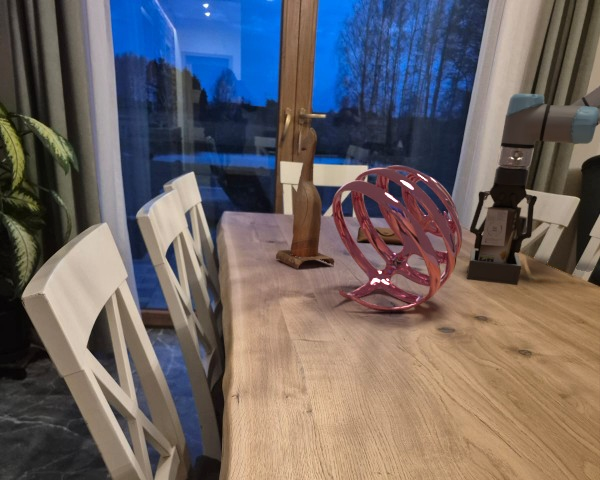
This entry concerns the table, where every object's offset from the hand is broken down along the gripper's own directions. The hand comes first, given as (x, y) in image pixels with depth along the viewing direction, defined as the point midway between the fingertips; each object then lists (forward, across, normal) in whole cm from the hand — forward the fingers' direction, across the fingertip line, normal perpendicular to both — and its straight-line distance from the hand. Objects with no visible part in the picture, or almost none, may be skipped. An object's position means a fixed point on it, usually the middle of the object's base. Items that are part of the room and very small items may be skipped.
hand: (493, 263), depth 147 cm
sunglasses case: (+3, -32, +30) cm, 44 cm away
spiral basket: (+3, -21, -37) cm, 43 cm away
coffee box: (+3, 0, 0) cm, 3 cm away
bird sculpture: (+3, -47, -11) cm, 48 cm away
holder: (+3, 0, 0) cm, 3 cm away
